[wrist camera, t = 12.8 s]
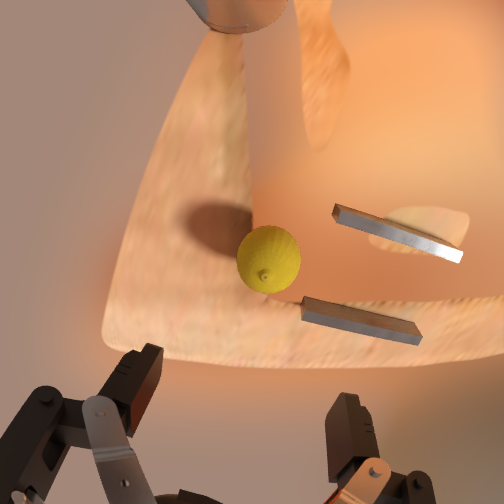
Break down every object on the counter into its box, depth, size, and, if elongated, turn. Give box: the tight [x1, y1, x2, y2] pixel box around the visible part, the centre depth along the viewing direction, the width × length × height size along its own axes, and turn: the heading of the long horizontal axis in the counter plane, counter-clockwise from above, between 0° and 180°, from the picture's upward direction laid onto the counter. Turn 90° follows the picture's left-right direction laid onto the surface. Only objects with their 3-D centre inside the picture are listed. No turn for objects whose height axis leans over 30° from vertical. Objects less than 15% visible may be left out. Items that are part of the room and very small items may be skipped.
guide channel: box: [300, 204, 463, 346], centre depth 30 cm, size 11×14×3 cm
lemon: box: [237, 226, 301, 294], centre depth 28 cm, size 6×6×8 cm
